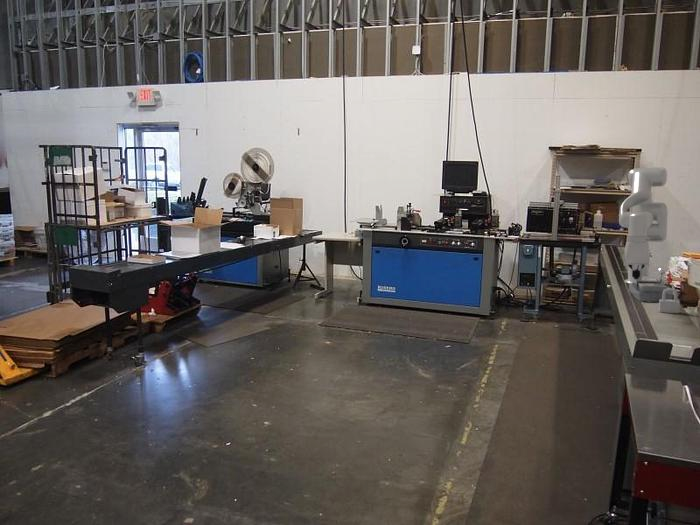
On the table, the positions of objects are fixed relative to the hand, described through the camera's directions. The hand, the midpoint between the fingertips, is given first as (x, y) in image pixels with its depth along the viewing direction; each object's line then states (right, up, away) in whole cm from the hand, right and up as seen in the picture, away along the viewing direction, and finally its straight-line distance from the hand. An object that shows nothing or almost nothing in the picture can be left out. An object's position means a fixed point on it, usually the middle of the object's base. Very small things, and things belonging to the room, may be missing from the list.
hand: (635, 278), depth 252 cm
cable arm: (+11, -7, +5) cm, 14 cm away
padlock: (-2, -13, -29) cm, 32 cm away
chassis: (+7, -8, +1) cm, 11 cm away
